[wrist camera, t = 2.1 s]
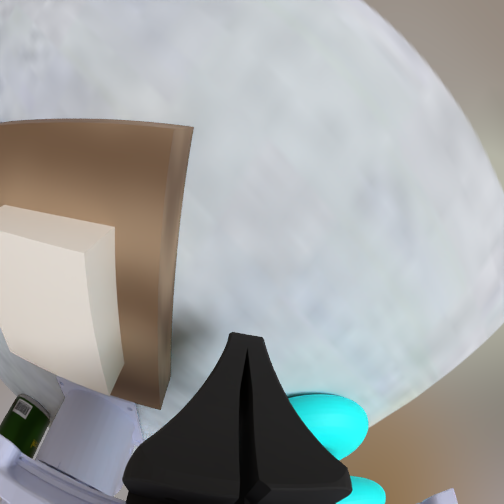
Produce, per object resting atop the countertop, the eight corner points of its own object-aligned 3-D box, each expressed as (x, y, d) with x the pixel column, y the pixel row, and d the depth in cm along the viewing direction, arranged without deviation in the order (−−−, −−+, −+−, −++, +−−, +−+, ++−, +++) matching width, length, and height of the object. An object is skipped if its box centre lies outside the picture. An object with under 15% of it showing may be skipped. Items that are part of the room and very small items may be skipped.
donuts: (336, 511, 8) (409, 508, 11) (316, 367, 17) (384, 411, 20) (206, 529, 12) (301, 538, 14) (219, 421, 21) (297, 453, 24)
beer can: (13, 387, 23) (-26, 453, 12) (41, 401, 23) (3, 475, 12) (29, 410, 25) (-2, 472, 15) (57, 424, 25) (27, 492, 15)
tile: (124, 363, 14) (109, 395, 12) (30, 327, 13) (10, 351, 11) (114, 226, 10) (84, 253, 8) (4, 204, 10) (-28, 222, 8)
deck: (170, 376, 18) (160, 409, 16) (36, 331, 18) (17, 354, 15) (193, 127, 12) (173, 128, 9) (10, 121, 11) (-25, 128, 8)
